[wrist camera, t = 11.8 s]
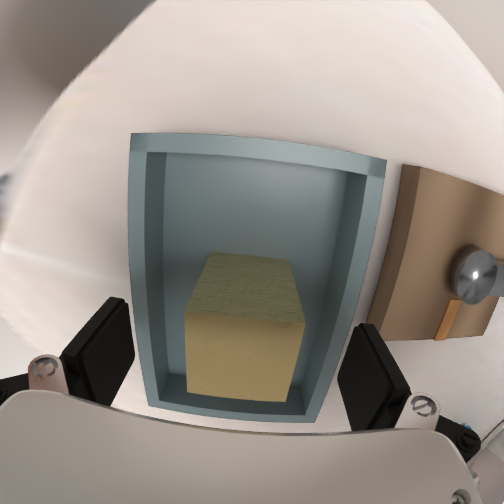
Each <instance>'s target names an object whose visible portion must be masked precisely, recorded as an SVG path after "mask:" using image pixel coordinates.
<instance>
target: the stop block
mask: <svg viewBox="0 0 504 504" xmlns="http://www.w3.org/2000/svg"><path fill="white" fill-rule="evenodd" d="M305 324H306V323H305V319H304V315H303V311H302V307H301V303H300V299H299V296H298V292H297V288H296V284H295V281H294V277H293V273H292V270H291V266H290V262H289V259H280V258H270V257H260V256H251V255H241V254H232V253H223V252H213V251H211V254H210V256H209V258H208V260H207V262H206V264H205V267H204V269H203V271H202V273H201V275H200V278H199V280H198V282H197V284H196V286H195V289H194V291H193V293H192V295H191V298H190V300H189V302H188V304H187V307H186V309H185V354H186V377H187V392H189V393H195V394H202V395H209V396H217V397H225V398H235V399H245V400H258V401H274V402H285V401H286V398H287V394H288V391H289V387H290V383H291V380H292V376H293V372H294V369H295V365H296V361H297V357H298V353H299V349H300V345H301V341H302V337H303V333H304V329H305Z"/></svg>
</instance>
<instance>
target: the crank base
mask: <svg viewBox="0 0 504 504" xmlns="http://www.w3.org/2000/svg"><path fill="white" fill-rule="evenodd" d="M470 246H478V247H480V248H482V249H484V250H485V251H487V252H489V253H491V254H492V255H493V256H494V257H495V259H497V260H503V261H504V196H503V195H501V194H499V193H496V192H494V191H491V190H488V189H486V188H483V187H481V186H478V185H475V184H473V183H470V182H467V181H464V180H461V179H458V178H455V177H452V176H449V175H446V174H443V173H440V172H437V171H433V170H430V169H427V168H423V167H419V166H412V165H404V164H403V167H402V174H401V181H400V187H399V193H398V199H397V205H396V210H395V215H394V220H393V225H392V230H391V234H390V239H389V243H388V248H387V252H386V256H385V260H384V264H383V268H382V272H381V275H380V279H379V283H378V286H377V290H376V293H375V296H374V300H373V303H372V306H371V310H370V313H369V316H368V319H367V322H366V323H368V324H374V326H375V327H376V329H377V331H378V332H379V334H380V336H381V337H382V339H383V341H396V340H428V339H433V340H434V341H436V340H445V339H446V338H460V337H472V336H483V334H484V332H485V330H486V328H487V326H488V323H489V321H490V319H491V316H492V314H493V312H494V309H495V307H496V304H497V302H498V299H499V297H498V296H486V297H485V298H484V299H483V300H482V301H481V302H479V303H477V304H474V305H468V304H466V303H465V302H463V301H462V300H461V299H460V298H459V297H458V296H457V295H455V294H454V293H453V291H452V290H451V287H450V272H451V269H452V266H453V264H454V262H455V260H456V258H457V257H458V255H459V254H460V253H461V252H462V251H463V250H464V249H466V248H468V247H470Z"/></svg>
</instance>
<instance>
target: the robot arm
mask: <svg viewBox="0 0 504 504" xmlns="http://www.w3.org/2000/svg"><path fill="white" fill-rule="evenodd" d="M134 358H135V350H134V344H133V337H132V330H131V323H130V315H129V307H128V303H125V301H124V299H122V298H116V297H110V298H109V299H108V300H107V301H106V302H105V303H104V304H103V305H102V306H101V307H100V309H99V310H98V311H97V312H96V313H95V314H94V315H93V316H92V317H91V319H90V320H89V321H88V322H87V323H86V324H85V325H84V327H83V328H82V329H81V330H80V331H79V332H78V334H77V335H76V336H75V337H74V338H73V339H72V341H71V342H70V343H69V344H68V345H67V347H66V348H65V349H64V350H63V351H62V354H61V356H60V357H59V358H58V357H56V356H54V355H49V354H48V355H41V356H38V357H36V358H35V359H33V360H32V361H31V362H30V364H29V366H28V373H26V374H22V375H18V376H13V377H9V378H5V379H0V504H502V503H503V501H504V421H503V422H502V423H501V424H500V425H499V426H498V427H497V428H496V429H495V430H493V431H492V432H491V434H490V435H489V436H488V437H487V438H486V439H485V440H484V441H483V442H482V444H481V441H480V438H479V436H478V435H477V434H476V433H475V432H474V431H473V430H471V429H469V428H467V427H464V426H462V425H460V424H458V423H456V422H453V421H451V420H449V419H447V418H445V417H443V416H440V415H439V414H440V406H439V403H438V402H437V400H436V399H435V398H433V397H432V396H430V395H428V394H425V393H414V394H412V393H411V391H410V387H409V385H408V383H407V381H406V380H405V378H404V376H403V374H402V372H401V371H400V369H399V367H398V365H397V363H396V362H395V360H394V358H393V356H392V355H391V353H390V351H389V349H388V348H387V346H386V344H385V342H384V341H383V339H382V337H381V336H380V334H379V332H378V331H377V329H376V327H375V326H374V324H368V323H360V324H359V325H358V327H355V328H354V330H353V333H352V336H351V339H350V342H349V345H348V348H347V351H346V354H345V356H344V359H343V362H342V365H341V367H340V370H339V373H338V377H337V381H338V385H339V388H340V391H341V395H342V398H343V402H344V405H345V409H346V412H347V416H348V419H349V423H350V426H351V430H352V431H351V432H332V433H268V432H251V431H238V430H228V429H219V428H211V427H203V426H197V425H190V424H184V423H178V422H173V421H168V420H163V419H158V418H153V417H149V416H144V415H140V414H136V413H132V412H128V411H124V410H120V409H117V408H113V407H110V406H111V404H112V402H113V400H114V398H115V396H116V394H117V392H118V390H119V388H120V386H121V384H122V382H123V380H124V378H125V377H126V375H127V373H128V371H129V369H130V367H131V365H132V363H133V361H134Z"/></svg>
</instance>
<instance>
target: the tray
mask: <svg viewBox="0 0 504 504" xmlns="http://www.w3.org/2000/svg"><path fill="white" fill-rule="evenodd" d="M386 163H387V160H385V159H380V158H376V157H372V156H367V155H362V154H358V153H353V152H348V151H343V150H337V149H332V148H326V147H320V146H314V145H308V144H301V143H294V142H287V141H279V140H271V139H262V138H252V137H241V136H228V135H213V134H192V133H131V140H130V154H129V174H128V248H129V267H130V282H131V294H132V304H133V314H134V322H135V330H136V338H137V345H138V351H139V358H140V364H141V370H142V375H143V381H144V386H145V391H146V396H147V400H148V405H149V406H152V407H157V408H162V409H167V410H172V411H177V412H183V413H189V414H195V415H202V416H209V417H217V418H226V419H236V420H247V421H262V422H287V423H314V422H315V420H316V418H317V415H318V413H319V411H320V408H321V406H322V404H323V401H324V399H325V396H326V394H327V391H328V389H329V386H330V383H331V381H332V378H333V375H334V373H335V370H336V367H337V365H338V362H339V359H340V356H341V353H342V350H343V347H344V344H345V341H346V338H347V335H348V332H349V329H350V326H351V323H352V319H353V316H354V313H355V309H356V306H357V302H358V299H359V295H360V292H361V288H362V284H363V280H364V276H365V272H366V268H367V264H368V260H369V256H370V252H371V247H372V243H373V238H374V233H375V229H376V224H377V219H378V213H379V208H380V202H381V196H382V190H383V184H384V178H385V171H386ZM211 251H213V252H223V253H232V254H241V255H251V256H260V257H270V258H280V259H289V262H290V266H291V270H292V273H293V277H294V281H295V284H296V288H297V292H298V296H299V299H300V303H301V307H302V311H303V315H304V319H305V323H306V324H305V329H304V333H303V337H302V341H301V345H300V349H299V353H298V357H297V361H296V365H295V369H294V372H293V376H292V380H291V383H290V387H289V391H288V394H287V398H286V401H285V402H274V401H258V400H245V399H235V398H225V397H217V396H209V395H202V394H195V393H189V392H187V377H186V354H185V309H186V307H187V304H188V302H189V300H190V298H191V295H192V293H193V291H194V289H195V286H196V284H197V282H198V280H199V278H200V275H201V273H202V271H203V269H204V267H205V264H206V262H207V260H208V258H209V256H210V254H211Z"/></svg>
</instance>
